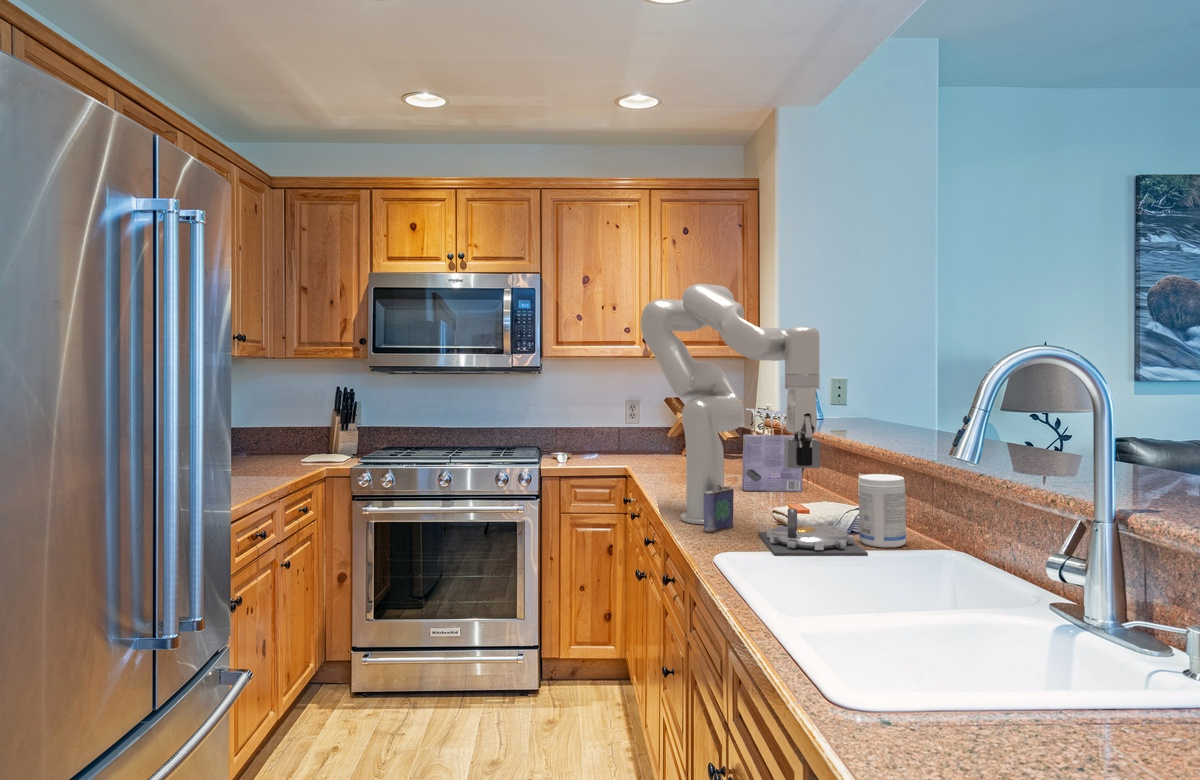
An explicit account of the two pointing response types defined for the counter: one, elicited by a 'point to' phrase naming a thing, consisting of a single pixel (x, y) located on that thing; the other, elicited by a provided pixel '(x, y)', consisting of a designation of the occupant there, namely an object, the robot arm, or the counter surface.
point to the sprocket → (808, 535)
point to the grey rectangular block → (791, 454)
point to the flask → (718, 509)
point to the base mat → (811, 549)
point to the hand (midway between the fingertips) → (802, 463)
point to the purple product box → (768, 465)
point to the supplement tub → (882, 510)
